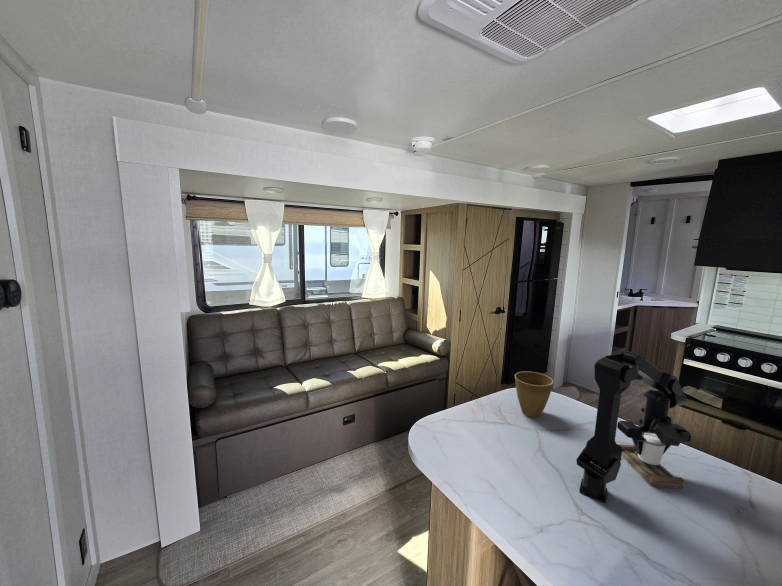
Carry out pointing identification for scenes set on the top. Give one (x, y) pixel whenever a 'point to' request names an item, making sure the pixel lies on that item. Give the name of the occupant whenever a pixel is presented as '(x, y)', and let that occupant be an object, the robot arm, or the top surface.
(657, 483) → the rack
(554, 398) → the top surface
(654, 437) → the white tapered cylinder
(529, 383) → the plant pot
